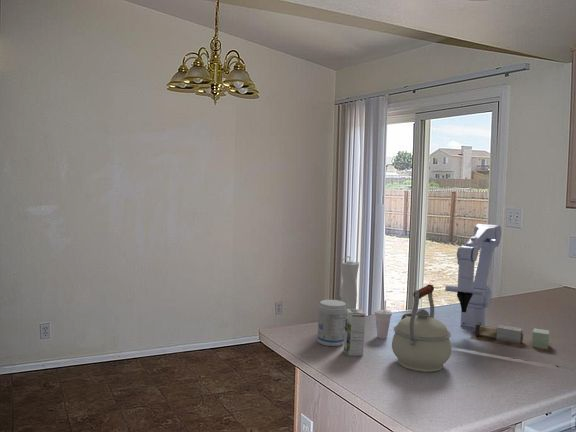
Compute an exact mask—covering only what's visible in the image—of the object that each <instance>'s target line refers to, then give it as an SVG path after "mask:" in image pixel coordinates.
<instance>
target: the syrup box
mask: <svg viewBox="0 0 576 432" xmlns="http://www.w3.org/2000/svg"><path fill="white" fill-rule="evenodd" d="M365 324H366V313H365V312H364V311H363V310H362V309H360V308H359V309H358V308H356V309H346V319H345V334H344V343H343V351H344V354H345V355H346V357H347V356H348V357H353V356H354V357H358V356H359V357H361V356H364V348H365V347H364V343H365V328H366V327H365V326H366V325H365Z"/></svg>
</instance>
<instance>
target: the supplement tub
mask: <svg viewBox="0 0 576 432" xmlns="http://www.w3.org/2000/svg"><path fill="white" fill-rule="evenodd" d="M345 317H346V303H345V302H342V301H340V300H337V299H323V300H320V302H319V306H318V322H317V324H318V326H317V327H318V328H317V342H318V343H319V344H320V345H323V346H327V347H339V346H342V345H344V334H345Z"/></svg>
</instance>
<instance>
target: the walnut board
mask: <svg viewBox="0 0 576 432" xmlns="http://www.w3.org/2000/svg"><path fill="white" fill-rule="evenodd" d="M475 334H476V330H474V331H473V333H472V334H471V336H470V337H469V339H470V340H475V341H481V342H482V341H483V342H487V343H488V342H489V343H492V344H493V343H494V344H500V345H506V346H512V347H515V348H517V347H518V348H523V349H528V350H535V351H542V352H546V353H551V352H552V343H550V342H548V349H542V348H537V347H532V340H533V339H526V338H525V339H524V338H523V341H521V343H520V344H515V343H509V342H503V341H497V337H491V336H485V335H479V336H475Z"/></svg>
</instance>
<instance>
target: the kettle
mask: <svg viewBox="0 0 576 432" xmlns="http://www.w3.org/2000/svg"><path fill="white" fill-rule="evenodd" d="M434 291H435V287H434V285H432V284H427V285H426V286H423V287H421V288H419V289H418V290H415V291H414V292H413V295H412V296H413V297H414V299H413V300H414V301H413V302H414V303H413V306H412V311H411V313H412V314H411V316H409V317H406V318H403V319H402V320H401V319H400V320H399V321H398V323H397V324H396V326H394V327H393V331H394V334H393V337H392V342H391V350H392V352H393V354H394V355H395V357H396V358H397V363H398V365H400V366H401V367H403V368H405V369H407V370H411V371H415V372H422V373H433V372H435V373H436V372H438V371H440V370H442V369H443V368H444V364H446V362H447V361H448V360H449V359H450V358H451V355H452V345H451V339H450V338H451V336H452V333H451V332H450V331H449V330H448V328H447V326H446V325H445V324H444V323H443V322H442V321H440V320H438V319H437V318H435V303H434V298H433V292H434ZM426 296H427V298H428V303H429V312H428V311H427V310H425V308H422V309H419V306H420V305H419V304H420V299H421V298H424V297H426ZM418 309H419V310H418ZM416 314H417V315H418V316H416ZM428 316H430V317H428ZM434 318H435V319H434Z"/></svg>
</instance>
